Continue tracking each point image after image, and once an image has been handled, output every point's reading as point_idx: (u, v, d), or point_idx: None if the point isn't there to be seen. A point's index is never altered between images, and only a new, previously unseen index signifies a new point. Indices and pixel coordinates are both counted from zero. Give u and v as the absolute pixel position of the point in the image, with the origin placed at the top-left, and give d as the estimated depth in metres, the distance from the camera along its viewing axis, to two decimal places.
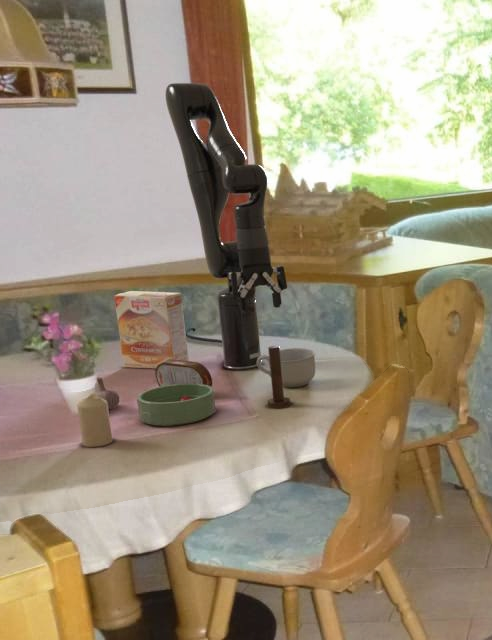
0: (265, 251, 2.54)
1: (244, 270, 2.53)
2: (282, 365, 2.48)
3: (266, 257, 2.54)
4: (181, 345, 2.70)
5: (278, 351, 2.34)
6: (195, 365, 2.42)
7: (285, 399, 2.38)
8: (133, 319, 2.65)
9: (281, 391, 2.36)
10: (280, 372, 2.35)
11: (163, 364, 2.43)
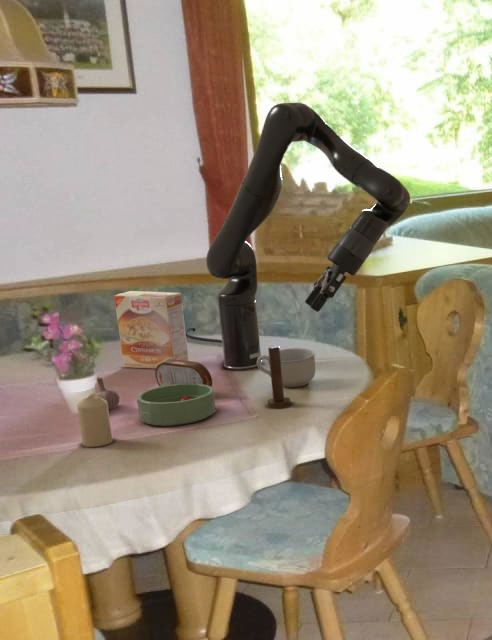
0: None
1: (343, 275, 2.37)
2: (282, 365, 2.48)
3: None
4: (181, 345, 2.70)
5: (278, 351, 2.34)
6: (195, 365, 2.42)
7: (285, 399, 2.38)
8: (133, 319, 2.65)
9: (281, 391, 2.36)
10: (280, 372, 2.35)
11: (163, 364, 2.43)
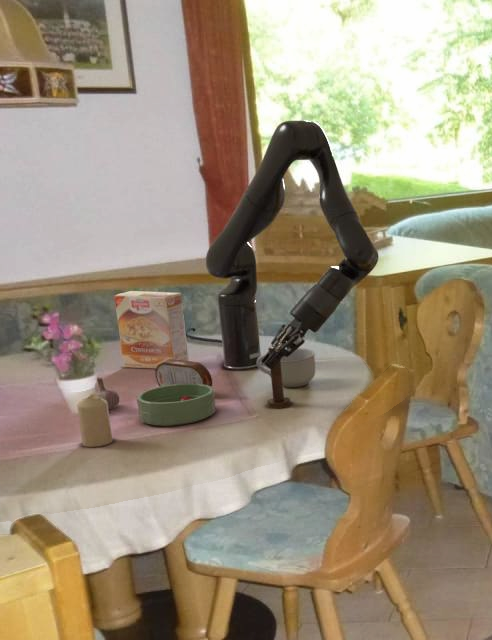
0: None
1: None
2: (282, 365, 2.48)
3: None
4: (181, 345, 2.70)
5: None
6: (195, 365, 2.42)
7: (285, 399, 2.38)
8: (133, 319, 2.65)
9: (281, 391, 2.36)
10: (280, 372, 2.35)
11: (163, 364, 2.43)
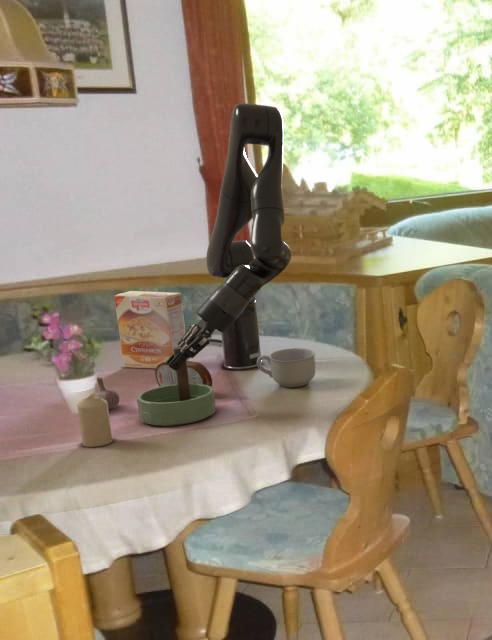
0: None
1: None
2: (282, 365, 2.48)
3: None
4: None
5: None
6: (195, 365, 2.41)
7: None
8: (133, 319, 2.65)
9: (188, 393, 2.28)
10: (186, 374, 2.27)
11: (163, 364, 2.43)
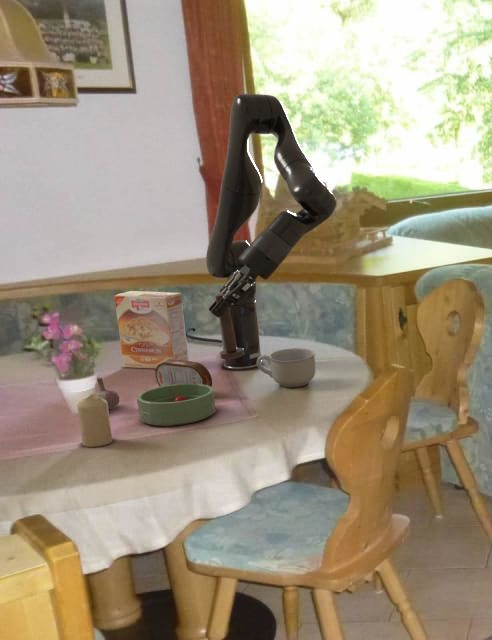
0: None
1: (255, 280, 2.22)
2: (282, 365, 2.48)
3: None
4: (181, 345, 2.70)
5: None
6: (195, 365, 2.41)
7: (238, 349, 2.26)
8: (133, 319, 2.65)
9: (233, 341, 2.25)
10: (230, 321, 2.24)
11: (163, 364, 2.43)
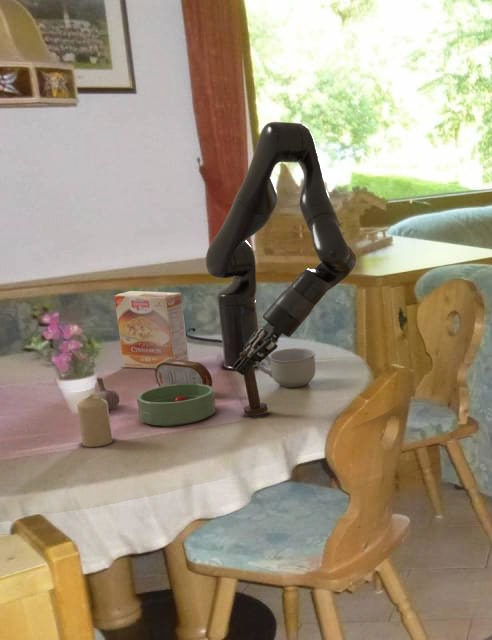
0: None
1: None
2: (282, 365, 2.48)
3: None
4: (181, 345, 2.70)
5: None
6: (195, 365, 2.41)
7: (262, 405, 2.31)
8: (133, 319, 2.65)
9: (257, 397, 2.29)
10: (254, 378, 2.28)
11: (163, 364, 2.43)
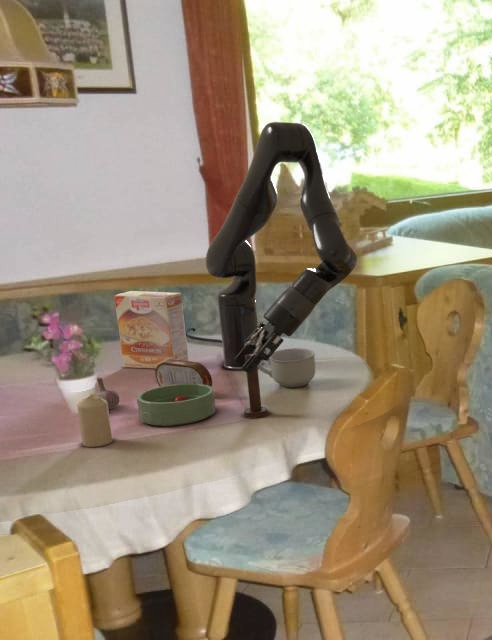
0: None
1: None
2: (282, 365, 2.48)
3: None
4: (181, 345, 2.70)
5: None
6: (195, 365, 2.41)
7: (262, 408, 2.31)
8: (133, 319, 2.65)
9: (259, 400, 2.29)
10: (257, 381, 2.28)
11: (163, 364, 2.43)
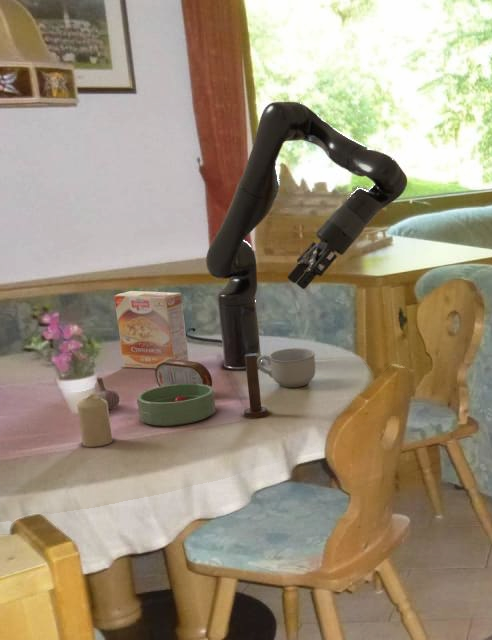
0: None
1: None
2: (282, 365, 2.48)
3: None
4: (181, 345, 2.70)
5: (255, 359, 2.27)
6: (195, 365, 2.41)
7: (262, 408, 2.31)
8: (133, 319, 2.65)
9: (259, 400, 2.29)
10: (257, 381, 2.28)
11: (163, 364, 2.43)
